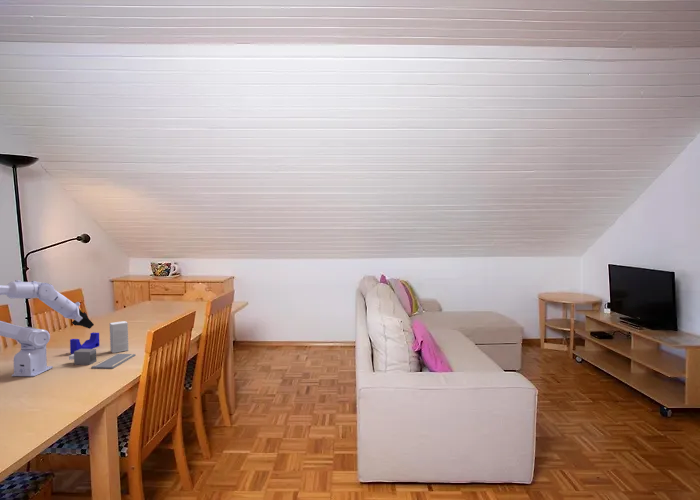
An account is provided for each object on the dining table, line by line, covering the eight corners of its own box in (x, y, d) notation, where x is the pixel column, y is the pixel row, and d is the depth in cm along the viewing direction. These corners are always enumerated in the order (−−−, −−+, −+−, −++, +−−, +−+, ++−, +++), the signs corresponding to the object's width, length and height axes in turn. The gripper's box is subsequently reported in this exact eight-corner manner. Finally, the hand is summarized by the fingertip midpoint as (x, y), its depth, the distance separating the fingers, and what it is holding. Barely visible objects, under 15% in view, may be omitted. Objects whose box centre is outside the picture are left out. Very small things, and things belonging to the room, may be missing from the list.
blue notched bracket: (90, 345, 185) (90, 332, 184) (99, 346, 184) (99, 332, 184) (67, 353, 173) (66, 339, 173) (76, 354, 172) (76, 340, 172)
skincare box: (125, 348, 181) (125, 320, 180) (128, 350, 178) (128, 322, 177) (109, 351, 177) (109, 322, 176) (112, 353, 174) (111, 324, 173)
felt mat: (112, 368, 155) (112, 366, 155) (91, 368, 155) (91, 366, 155) (135, 355, 171) (135, 353, 171) (115, 355, 171) (115, 353, 171)
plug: (90, 365, 159) (90, 352, 159) (67, 364, 159) (67, 351, 159) (96, 361, 163) (96, 348, 163) (74, 361, 163) (74, 348, 163)
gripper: (76, 303, 156) (103, 321, 166) (63, 289, 165) (89, 308, 174) (60, 317, 154) (88, 336, 163) (47, 303, 162) (75, 321, 172)
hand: (88, 322), depth 169 cm, fingers open, 7 cm apart
